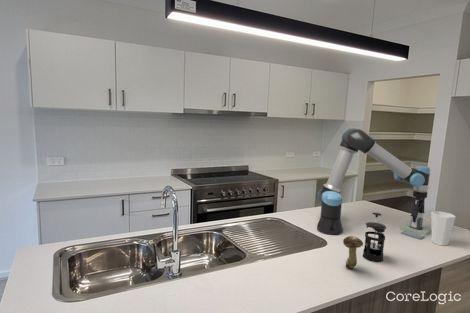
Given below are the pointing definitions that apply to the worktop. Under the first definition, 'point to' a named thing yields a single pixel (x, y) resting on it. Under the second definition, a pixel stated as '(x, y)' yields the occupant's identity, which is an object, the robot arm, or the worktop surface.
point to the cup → (441, 227)
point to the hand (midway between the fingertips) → (416, 224)
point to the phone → (412, 235)
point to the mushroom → (352, 250)
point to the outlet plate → (424, 230)
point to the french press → (372, 246)
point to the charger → (418, 223)
